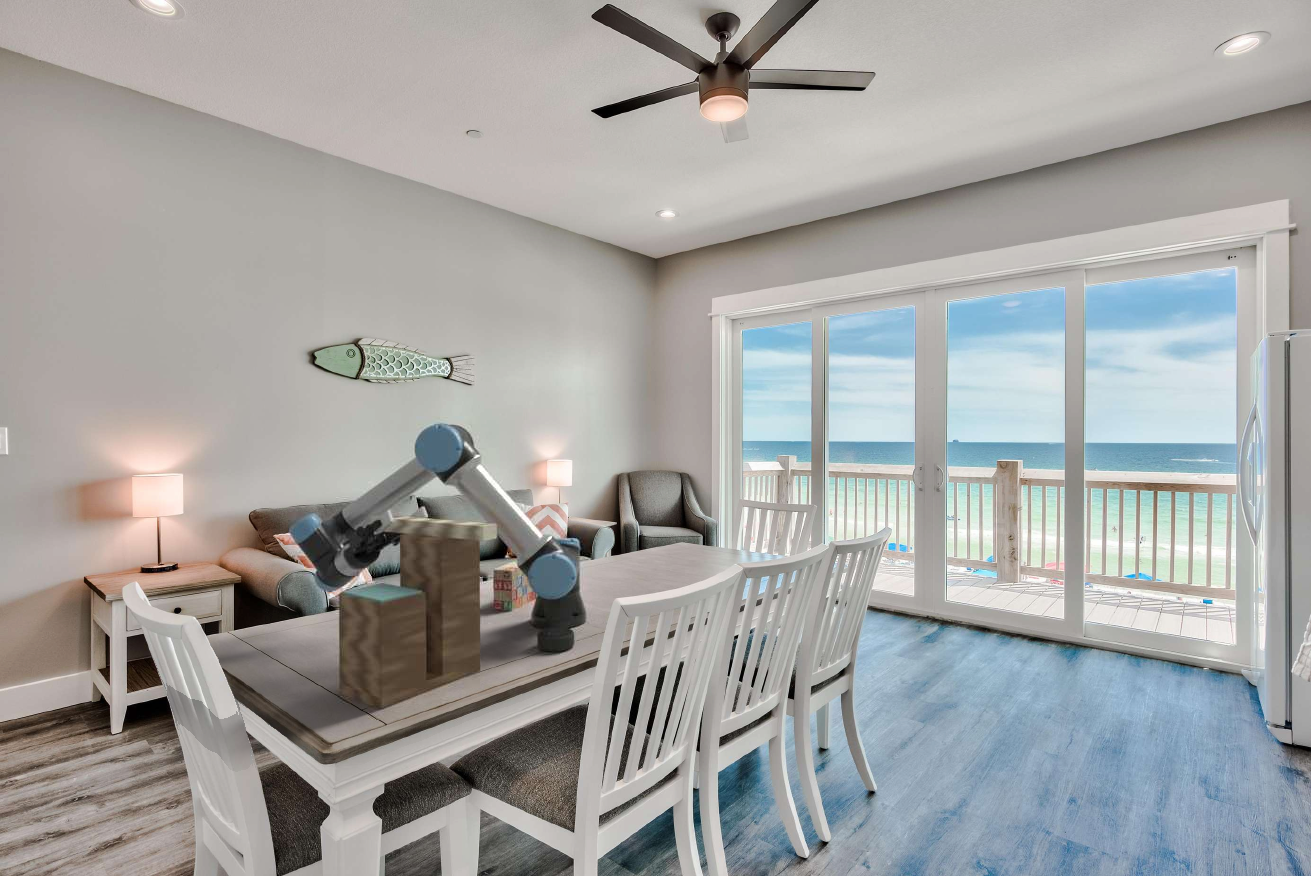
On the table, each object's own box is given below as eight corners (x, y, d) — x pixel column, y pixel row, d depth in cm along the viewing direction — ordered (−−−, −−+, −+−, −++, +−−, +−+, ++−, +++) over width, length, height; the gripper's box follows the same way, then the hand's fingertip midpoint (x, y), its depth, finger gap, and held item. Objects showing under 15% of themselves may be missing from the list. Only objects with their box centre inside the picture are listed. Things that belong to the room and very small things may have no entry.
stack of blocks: (527, 593, 214) (527, 555, 214) (545, 594, 213) (544, 556, 212) (493, 610, 194) (492, 568, 194) (512, 611, 192) (511, 569, 192)
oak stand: (339, 693, 131) (338, 543, 131) (438, 658, 151) (437, 529, 151) (381, 709, 124) (380, 550, 124) (480, 670, 144) (479, 534, 144)
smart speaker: (532, 645, 161) (532, 629, 161) (566, 639, 166) (566, 623, 166) (545, 656, 154) (544, 638, 154) (580, 649, 158) (580, 633, 158)
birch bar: (370, 530, 150) (370, 516, 150) (384, 527, 154) (384, 514, 154) (483, 541, 134) (483, 526, 134) (496, 538, 138) (496, 523, 138)
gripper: (400, 561, 168) (451, 523, 157) (320, 576, 150) (370, 534, 139) (391, 535, 170) (441, 495, 159) (311, 547, 152) (360, 503, 141)
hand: (408, 513), depth 149 cm, fingers open, 8 cm apart
